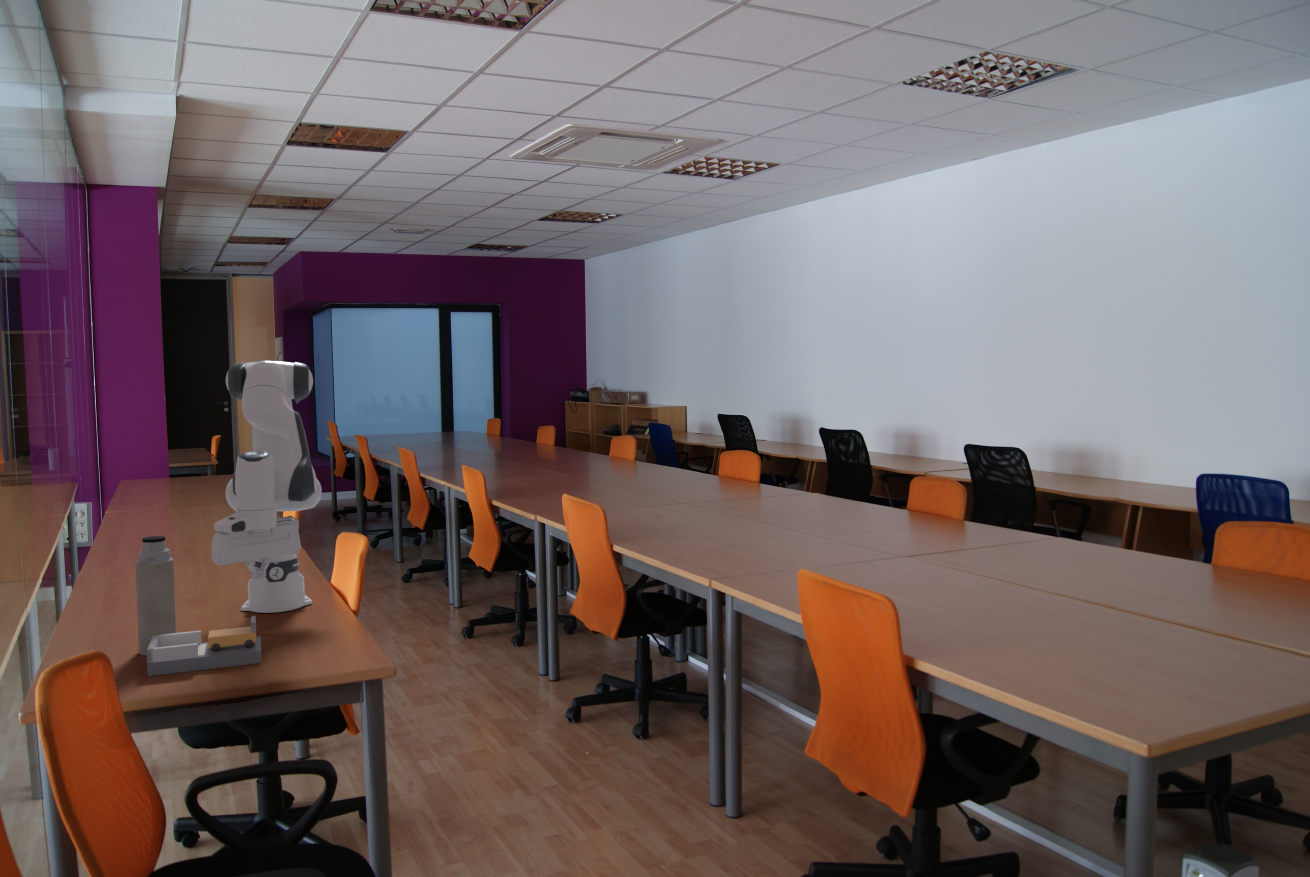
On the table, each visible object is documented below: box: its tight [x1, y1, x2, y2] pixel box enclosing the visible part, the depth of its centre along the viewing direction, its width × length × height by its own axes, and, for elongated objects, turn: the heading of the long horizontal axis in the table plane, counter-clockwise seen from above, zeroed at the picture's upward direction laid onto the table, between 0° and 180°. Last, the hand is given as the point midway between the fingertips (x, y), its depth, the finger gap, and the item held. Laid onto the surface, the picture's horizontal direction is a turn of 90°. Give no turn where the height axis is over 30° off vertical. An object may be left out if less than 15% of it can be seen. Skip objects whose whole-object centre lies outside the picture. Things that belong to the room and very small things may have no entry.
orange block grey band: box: [207, 615, 257, 652], centre depth 205 cm, size 6×10×6 cm, turn 114°
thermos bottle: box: [135, 535, 177, 657], centre depth 210 cm, size 8×8×28 cm
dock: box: [146, 630, 262, 677], centre depth 203 cm, size 12×23×6 cm, turn 114°
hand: (258, 577), depth 206 cm, fingers closed
